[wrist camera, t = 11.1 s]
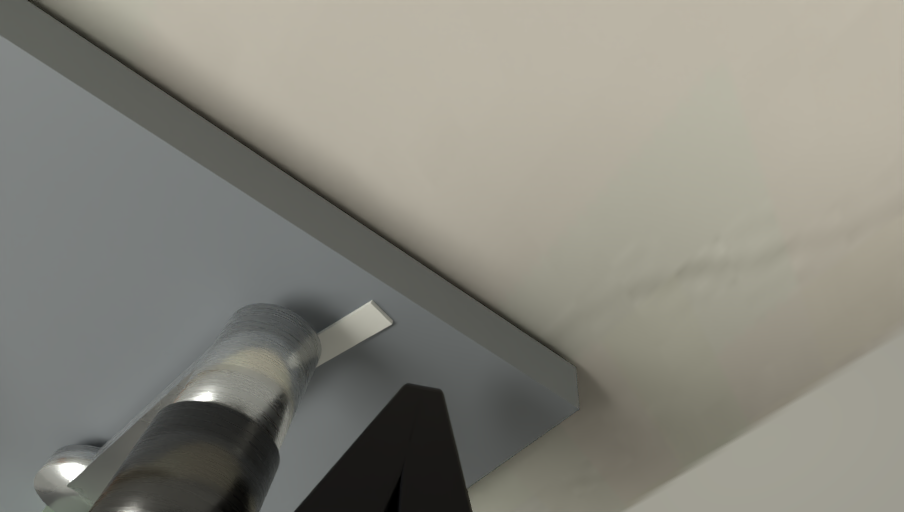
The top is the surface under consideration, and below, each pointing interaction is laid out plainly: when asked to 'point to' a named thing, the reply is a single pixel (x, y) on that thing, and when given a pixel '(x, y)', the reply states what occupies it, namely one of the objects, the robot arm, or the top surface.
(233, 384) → the crank
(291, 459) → the plate
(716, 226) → the top surface
